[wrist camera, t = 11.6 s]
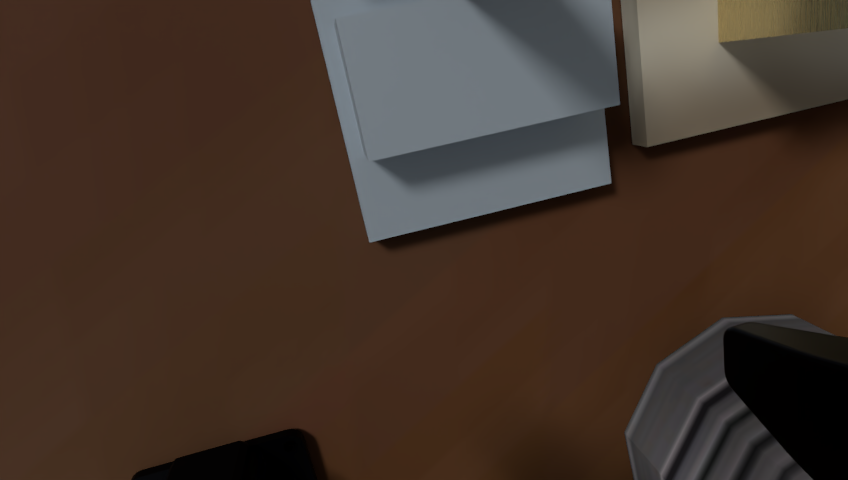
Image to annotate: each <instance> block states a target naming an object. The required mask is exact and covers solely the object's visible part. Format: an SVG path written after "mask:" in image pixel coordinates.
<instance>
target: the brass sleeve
mask: <svg viewBox="0 0 848 480" xmlns="http://www.w3.org/2000/svg"><path fill="white" fill-rule="evenodd" d="M717 1H718V38H719V43H720V42H729V41H738V40H747V39H756V38H765V37H773V36H782V35H791V34H800V33H809V32H818V31H827V30H836V29H845V28H848V0H717Z"/></svg>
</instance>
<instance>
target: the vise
mask: <svg viewBox="0 0 848 480" xmlns="http://www.w3.org/2000/svg"><path fill="white" fill-rule="evenodd" d="M310 1H311V5H312V9H313V13H314V17H315V21H316V25H317V30H318V34H319V38H320V42H321V46H322V50H323V54H324V58H325V63H326V67H327V71H328V75H329V79H330V83H331V87H332V91H333V96H334V100H335V104H336V108H337V112H338V116H339V120H340V124H341V128H342V133H343V137H344V141H345V145H346V149H347V153H348V157H349V161H350V166H351V170H352V174H353V178H354V182H355V186H356V190H357V194H358V199H359V203H360V207H361V211H362V215H363V219H364V223H365V227H366V231H367V235H368V239H369V242H374V241H378V240H382V239H387V238H391V237H395V236H399V235H403V234H407V233H411V232H415V231H419V230H423V229H427V228H431V227H435V226H440V225H444V224H448V223H452V222H456V221H460V220H464V219H468V218H472V217H476V216H480V215H484V214H488V213H493V212H497V211H501V210H505V209H509V208H513V207H517V206H521V205H525V204H529V203H533V202H537V201H541V200H546V199H550V198H554V197H558V196H562V195H566V194H570V193H574V192H578V191H582V190H586V189H590V188H594V187H599V186H603V185H607V184H611V173H610V163H609V152H608V142H607V131H606V121H605V110H604V108H608V107H612V106H616V105H620V97H619V85H618V73H617V62H616V50H615V39H614V27H613V15H612V4H611V0H310Z"/></svg>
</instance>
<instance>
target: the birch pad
mask: <svg viewBox="0 0 848 480" xmlns="http://www.w3.org/2000/svg"><path fill="white" fill-rule="evenodd" d="M621 11H622V23H623V36H624V48H625V60H626V72H627V85H628V97H629V109H630V122H631V134H632V144H633V145H638V146H644V147H650V146H654V145H659V144H663V143H667V142H671V141H675V140H679V139H684V138H688V137H692V136H696V135H700V134H705V133H709V132H713V131H717V130H721V129H725V128H730V127H734V126H738V125H742V124H746V123H751V122H755V121H759V120H763V119H767V118H772V117H776V116H780V115H784V114H788V113H792V112H797V111H801V110H805V109H809V108H813V107H818V106H822V105H826V104H830V103H834V102H838V101H843V100H847V99H848V28H845V29H836V30H827V31H818V32H809V33H800V34H791V35H782V36H773V37H765V38H756V39H747V40H738V41H729V42H720V43H719V38H718V1H717V0H621Z"/></svg>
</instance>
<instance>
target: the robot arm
mask: <svg viewBox="0 0 848 480" xmlns="http://www.w3.org/2000/svg"><path fill="white" fill-rule="evenodd" d="M723 347H724V372H725V377H726V380H727V382H728V384H729V385H730V387H731V388H732V390H733V391H734V392H735V393H736V394H737V395H738V397H739V398H740V399H741V400H742V401H743V402H744V403H745V405H746V406H747V407H748V408H749V409H750V410H751V412H752V413H753V414H754V415H755V416H756V417H757V418H758V420H759V421H760V422H761V423H762V424H763V425H764V427H765V428H766V429H767V430H768V431H769V432H770V433H771V435H772V436H773V437H774V438H775V439H776V440H777V442H778V443H779V444H780V445H781V446H782V447H783V449H784V450H785V451H786V452H787V453H788V454H789V455H790V456H791V457H792V458H793V460H794V461H795V462H796V463H797V464H798V465H799V466H800V467H801V468H802V469H803V470H804V471H805V472H806V473H807V474H808V475H809V476H810V477H811V478H812V479H813V480H848V338H846V337H840V336H834V335H828V334H822V333H816V332H810V331H804V330H798V329H792V328H786V327H781V326H775V325H769V324H763V323H757V322H746V323H743V324H739V325H736V326H732V327H729V328H728V329H726V330H725V332H724V335H723ZM287 441H294V442H295V443H296V444H295V445H293V446H288V445H286V444H285V443H286V442H287ZM132 480H317V477H316V474H315V471H314V468H313V464H312V461H311V458H310V455H309V452H308V449H307V446H306V442H305V439H304V436H303V435H302V433H301V432H300V431H298V430H295V429H287V430H284V431H280V432H277V433H273V434H269V435H266V436H262V437H259V438H255V439H252V440H248V441H237V442H233V443H230V444H226V445H223V446H219V447H215V448H212V449H208V450H205V451H201V452H198V453H194V454H190V455H187V456H183V457H180V458H177V459H175V461H173V462H169V463H166V464H162V465H159V466H155V467H152V468H148V469H144V470H141V471H139V472H137V473H136V474H135V475H134V476H133V478H132Z"/></svg>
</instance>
